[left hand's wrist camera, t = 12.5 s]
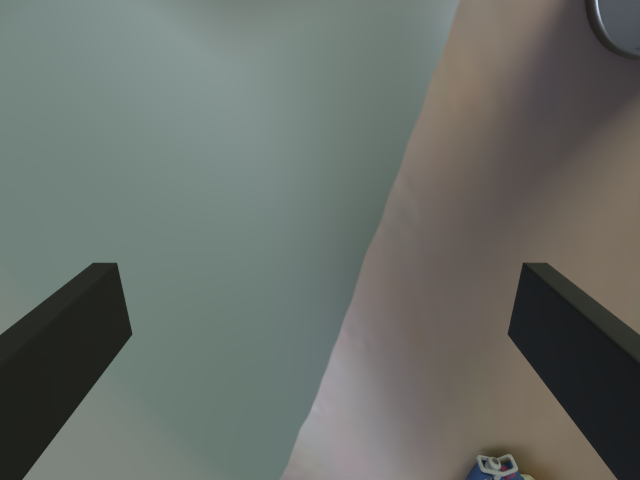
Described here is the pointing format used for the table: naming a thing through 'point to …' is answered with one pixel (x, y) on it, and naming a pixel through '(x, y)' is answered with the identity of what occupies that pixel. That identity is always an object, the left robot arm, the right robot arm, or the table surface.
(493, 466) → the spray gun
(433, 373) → the table surface
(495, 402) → the table surface
